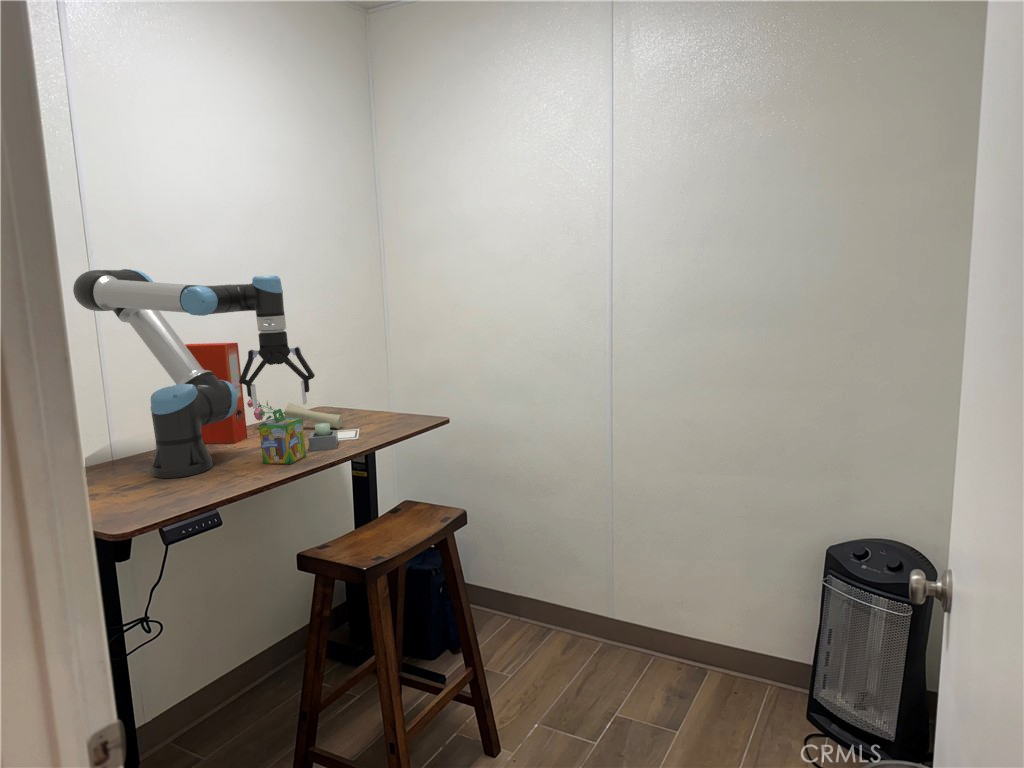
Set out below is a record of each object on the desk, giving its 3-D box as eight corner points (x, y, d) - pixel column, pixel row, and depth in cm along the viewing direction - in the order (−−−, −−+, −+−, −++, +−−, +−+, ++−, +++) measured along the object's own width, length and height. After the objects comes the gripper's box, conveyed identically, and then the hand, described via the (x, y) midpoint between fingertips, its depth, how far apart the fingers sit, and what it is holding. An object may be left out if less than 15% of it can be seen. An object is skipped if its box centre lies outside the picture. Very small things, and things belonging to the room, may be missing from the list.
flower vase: (332, 452, 230) (236, 431, 233) (346, 433, 241) (254, 413, 244) (332, 423, 224) (234, 402, 227) (346, 405, 235) (252, 385, 238)
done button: (315, 439, 204) (314, 426, 203) (316, 436, 208) (315, 423, 208) (330, 438, 205) (329, 425, 204) (331, 435, 209) (330, 422, 208)
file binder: (200, 437, 226) (189, 343, 221) (248, 437, 224) (237, 342, 218) (185, 443, 218) (173, 346, 213) (234, 443, 216) (223, 345, 210)
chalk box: (291, 464, 188) (286, 413, 186) (261, 464, 190) (256, 413, 188) (307, 455, 197) (302, 406, 195) (279, 455, 199) (274, 406, 197)
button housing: (309, 451, 202) (308, 438, 202) (312, 444, 210) (311, 432, 210) (336, 448, 204) (335, 435, 203) (338, 442, 212) (337, 430, 211)
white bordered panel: (319, 442, 213) (319, 441, 212) (323, 432, 226) (323, 431, 226) (357, 439, 215) (357, 438, 215) (359, 429, 228) (359, 428, 228)
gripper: (222, 335, 182) (231, 411, 185) (317, 329, 186) (324, 404, 190) (228, 333, 189) (237, 406, 192) (319, 327, 193) (326, 399, 197)
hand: (280, 405), depth 191 cm, fingers open, 13 cm apart
